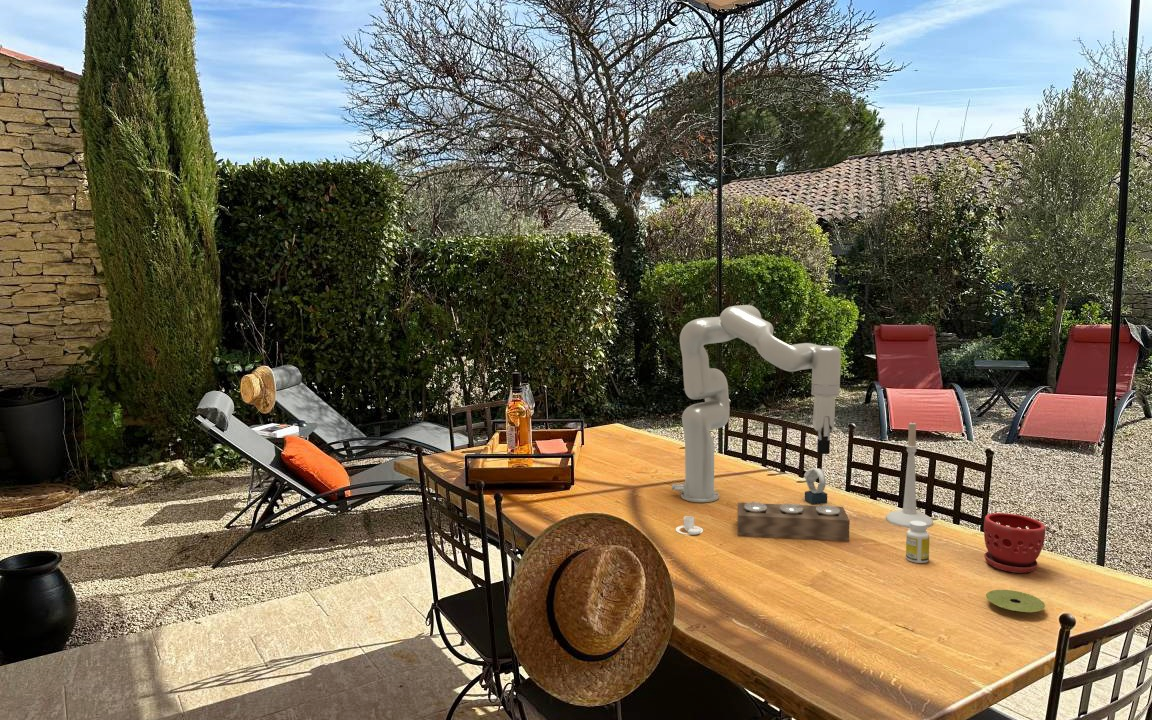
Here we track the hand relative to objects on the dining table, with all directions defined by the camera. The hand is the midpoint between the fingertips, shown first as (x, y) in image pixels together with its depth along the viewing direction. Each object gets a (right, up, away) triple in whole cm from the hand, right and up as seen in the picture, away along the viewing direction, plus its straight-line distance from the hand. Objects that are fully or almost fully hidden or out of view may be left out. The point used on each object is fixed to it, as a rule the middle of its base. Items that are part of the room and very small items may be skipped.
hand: (823, 453), depth 212 cm
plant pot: (+39, -25, -26) cm, 53 cm away
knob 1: (-18, -21, +4) cm, 28 cm away
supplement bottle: (+17, -25, -20) cm, 37 cm away
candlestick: (+28, -21, +9) cm, 37 cm away
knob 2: (+1, -21, 0) cm, 21 cm away
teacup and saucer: (-40, -24, +3) cm, 46 cm away
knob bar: (-9, -23, +2) cm, 24 cm away
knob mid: (-9, -21, +2) cm, 23 cm away
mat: (+26, -28, -48) cm, 62 cm away
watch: (+7, -20, +28) cm, 35 cm away
